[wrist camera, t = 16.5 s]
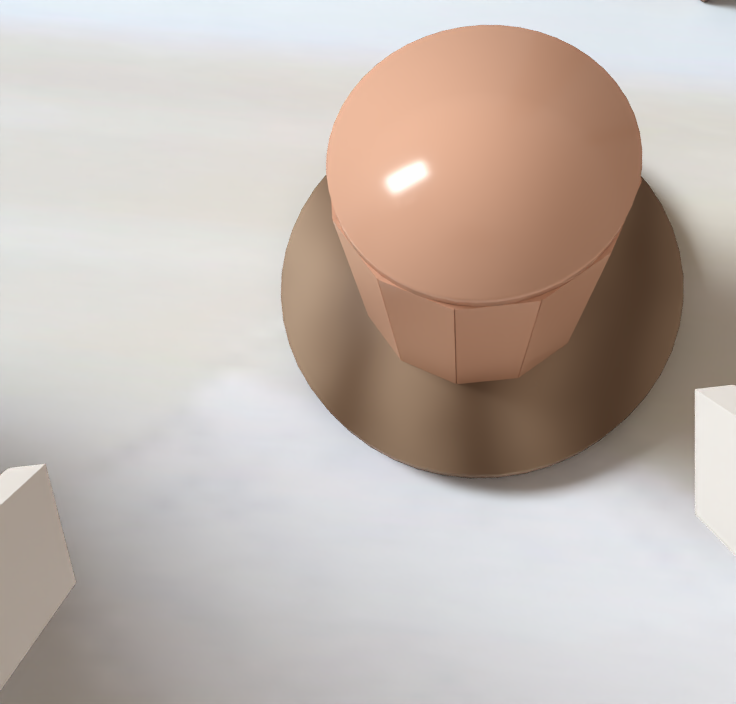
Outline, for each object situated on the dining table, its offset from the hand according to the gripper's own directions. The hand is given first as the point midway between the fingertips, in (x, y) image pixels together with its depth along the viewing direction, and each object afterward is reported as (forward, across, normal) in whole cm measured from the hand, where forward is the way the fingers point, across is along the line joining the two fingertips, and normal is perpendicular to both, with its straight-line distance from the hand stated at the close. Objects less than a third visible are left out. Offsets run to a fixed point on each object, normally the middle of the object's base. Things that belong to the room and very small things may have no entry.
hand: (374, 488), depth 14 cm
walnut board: (+23, +6, 0) cm, 24 cm away
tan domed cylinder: (+22, +5, 0) cm, 22 cm away
